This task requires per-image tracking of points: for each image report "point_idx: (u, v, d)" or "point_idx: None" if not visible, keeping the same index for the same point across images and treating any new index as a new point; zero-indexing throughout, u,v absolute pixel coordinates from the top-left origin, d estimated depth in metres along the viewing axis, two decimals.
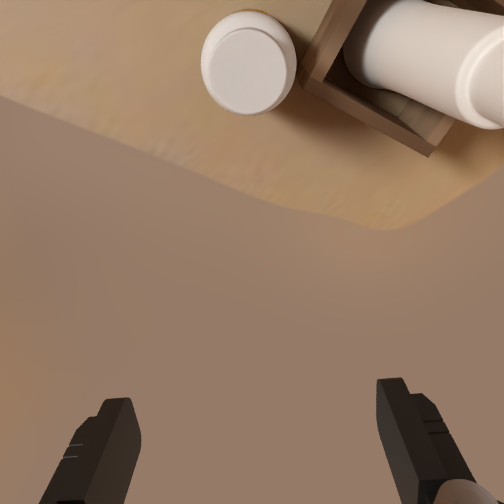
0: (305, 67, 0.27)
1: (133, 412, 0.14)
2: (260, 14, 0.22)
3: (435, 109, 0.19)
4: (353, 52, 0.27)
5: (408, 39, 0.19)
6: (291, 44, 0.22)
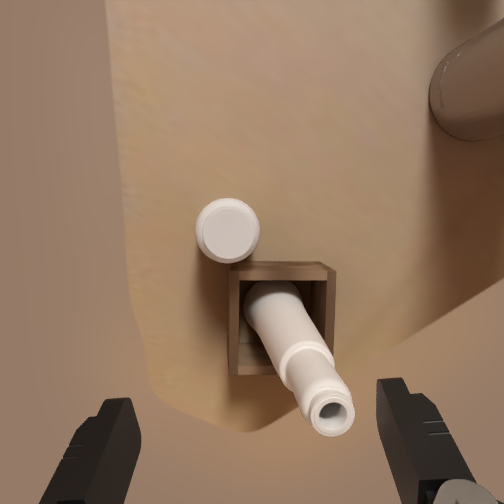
0: (238, 265, 0.38)
1: (133, 412, 0.14)
2: None
3: (268, 350, 0.30)
4: (260, 289, 0.40)
5: (290, 313, 0.32)
6: (252, 250, 0.34)
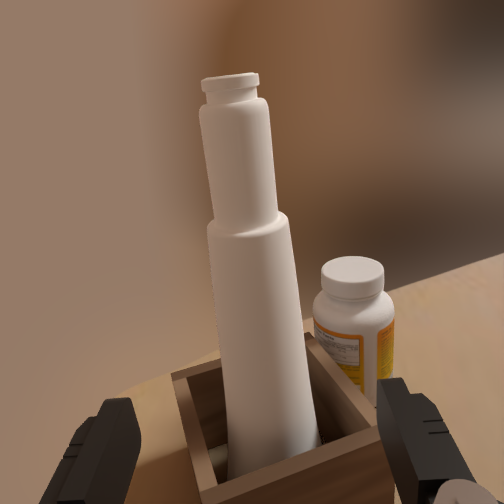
0: None
1: (133, 412, 0.14)
2: (382, 320, 0.26)
3: None
4: None
5: None
6: (348, 324, 0.26)
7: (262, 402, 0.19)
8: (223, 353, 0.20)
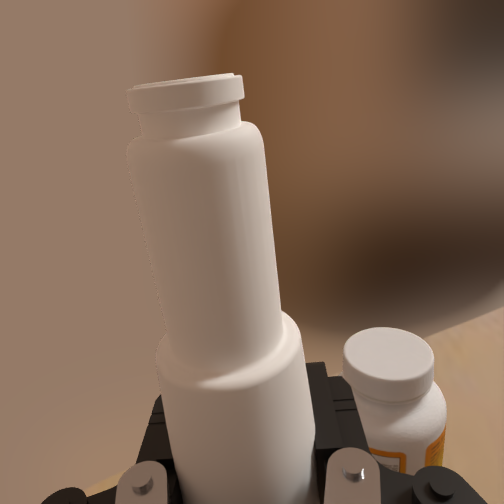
0: None
1: None
2: (433, 430, 0.18)
3: None
4: None
5: None
6: (384, 437, 0.18)
7: None
8: None
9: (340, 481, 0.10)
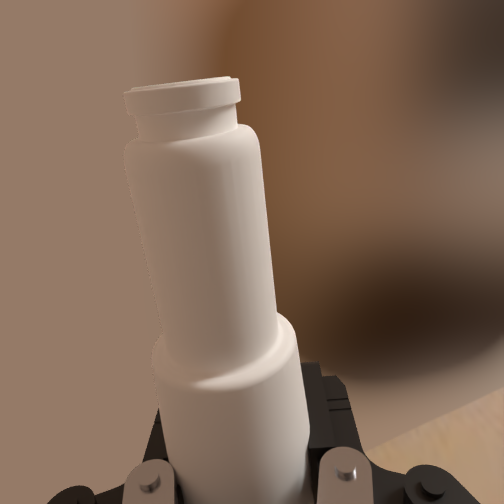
0: None
1: None
2: None
3: None
4: None
5: None
6: None
7: None
8: None
9: (332, 480, 0.10)
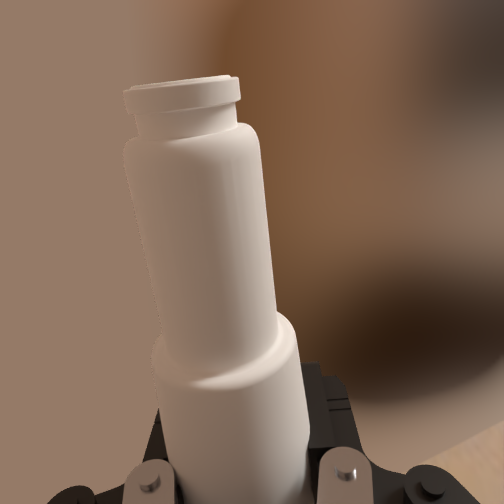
0: None
1: None
2: None
3: None
4: None
5: None
6: None
7: None
8: None
9: (333, 480, 0.10)
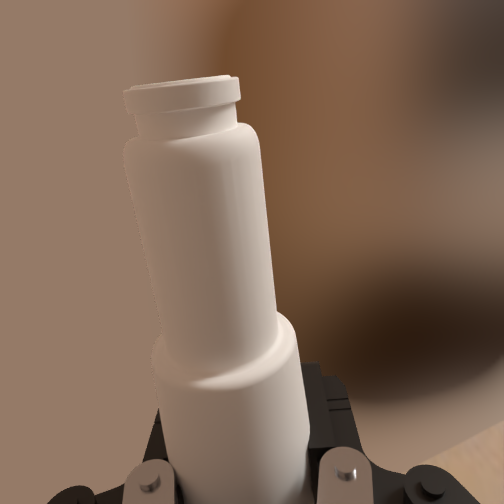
0: None
1: None
2: None
3: None
4: None
5: None
6: None
7: None
8: None
9: (333, 480, 0.10)
